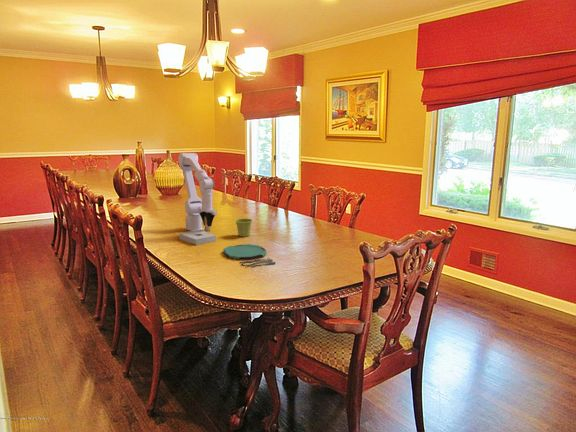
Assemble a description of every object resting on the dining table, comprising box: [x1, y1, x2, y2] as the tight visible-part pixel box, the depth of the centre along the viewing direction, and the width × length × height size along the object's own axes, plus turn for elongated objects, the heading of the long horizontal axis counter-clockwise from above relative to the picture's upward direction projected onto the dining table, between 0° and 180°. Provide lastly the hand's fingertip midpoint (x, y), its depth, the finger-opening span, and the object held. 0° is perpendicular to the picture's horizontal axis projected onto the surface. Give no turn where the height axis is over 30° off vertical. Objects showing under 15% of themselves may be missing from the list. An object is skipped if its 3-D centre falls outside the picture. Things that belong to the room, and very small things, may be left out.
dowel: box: [204, 216, 211, 233], centre depth 232 cm, size 3×3×8 cm
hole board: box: [178, 230, 217, 246], centre depth 223 cm, size 16×12×3 cm
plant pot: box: [234, 218, 254, 238], centre depth 233 cm, size 9×9×9 cm
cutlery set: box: [222, 243, 276, 268], centre depth 196 cm, size 20×30×2 cm, turn 23°
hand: (207, 225), depth 233 cm, fingers closed on dowel, 3 cm apart
